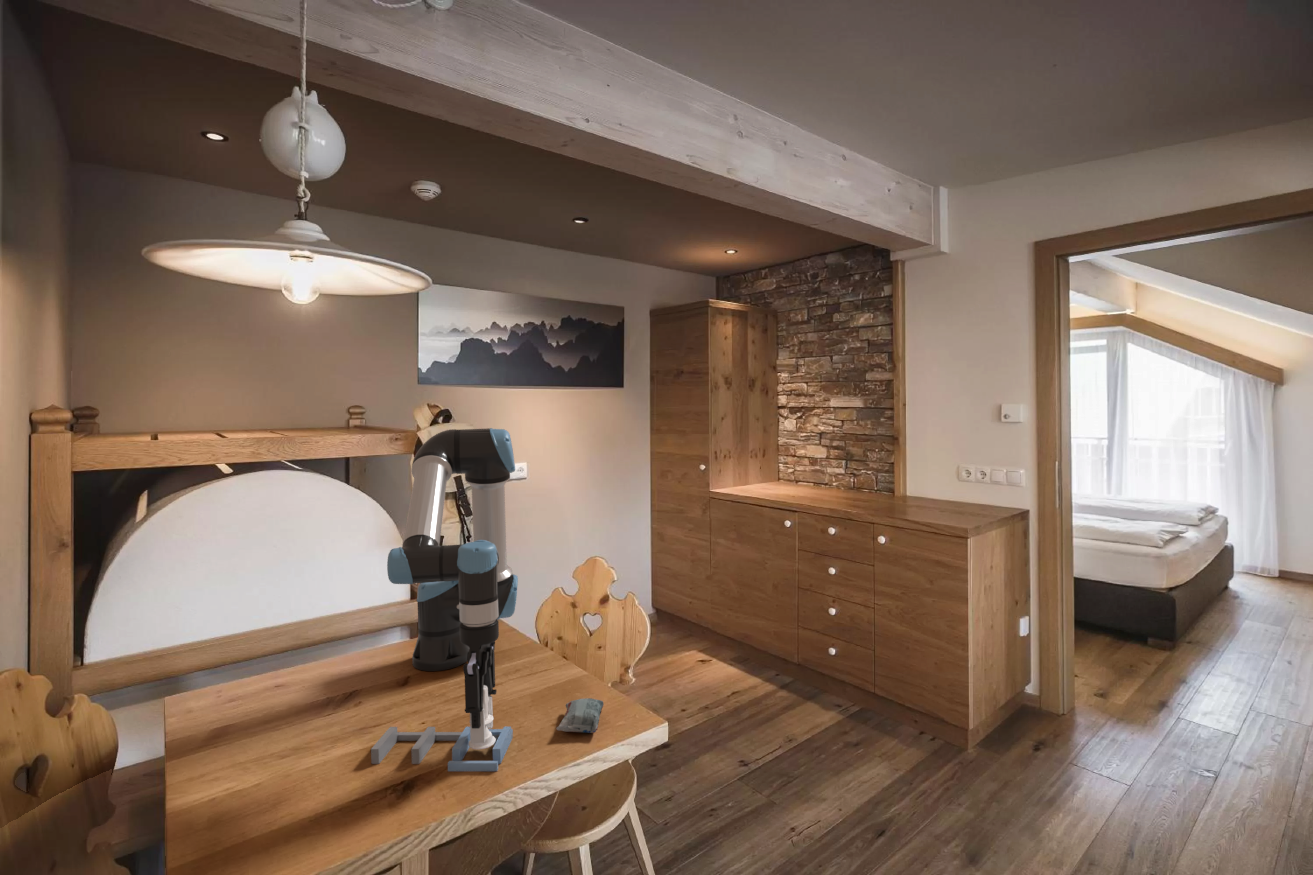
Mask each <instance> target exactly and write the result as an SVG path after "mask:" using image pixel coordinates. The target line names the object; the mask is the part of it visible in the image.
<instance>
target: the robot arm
mask: <svg viewBox="0 0 1313 875" xmlns="http://www.w3.org/2000/svg"><path fill="white" fill-rule="evenodd" d="M514 472H516V464H515V456H514V448H513V443H512V438H511V434H510V432H509V431H508V430H506V429H504V428H503V429H502V428H492V427H489V428H488V427H487V428H469V429H468V428H467V429H455V428H454V429H446V430H442V431H440V432H437V433H436V434H434V435H433V436H431V437H430V438H429V439H427V440H426V441H425V442H424V443H423V444H422V445H421V447H419V449H418V450H417V452H416V454H415V456H414V458H413V460H412V464H411V472H410V473H411V475H412V477H413V483H412V489H411V495H410V500H409V506H408V512H407V518H406V522H405V523H406V524H405V527H404V534H403V539H402V544H401V546H399V547H395V548H391V550H389V552H388V555H387V565H386V567H387V576H388V580H389V582H390V583H391V584H393V585H413V584H418V586H417V595H416V596H417V598H416V602H417V622H418V623H417V627H418V628H417V629H418V636H417V639H416V643H415V646H414V649H413V652H412V656H411V657H412V658H411V659H412V666H413V667H414V668H415V669H417V670H419V671H426V672H436V671H437V672H439V671H446V670H451V669H454V668H457V667H459V666H462V665H463V666H462V670H463V673H464V674H463V675H464V702H465V709H464V712H465V714H469V721H470V722H469V727H470V740H471V743H484V742H485V709H483V687H484V685H485V686H487V687H488V698H489V701H488V714H490V715H492V716H493V717H494V715H493V714H494V712H493V695H497V689H494V688H495V687H496V665H495V663H496V662H495V658H496V657H495V647H496V641H497V640H498V639H499V636H500V632H499V630H500V629H499V625H500V624H499V620H500V619H507V618H510V617H512V616H513V615H514V613H515V610H516V605H517V598H518V597H517V595H518V585H519V584H518V583H519V580H518V579H519V577H518V575H517V574H514V573H513V569H512V568H511V567H510V566H509V565H508V564H507V561H508V560H507V532H506V531H507V530H506V528H507V527H506V496H505V495H506V494H505V493H506V492H505V488H506V487H505V485H506V483H507V482H508V481H509V480H510V479H511V474H512V473H514ZM455 474H456V475H461V474H462V475H463V474H464V481H465V482H466V483H467V484H468V485H469V486H471V510H472V511H471V512H472V533H473V536H472V537H473V541H472V542H471V541H470V542H465V543H463V544H448V545H440V542H441V534H442V525H443V518H444V517H443V516H444V508H445V507H444V506H445V498H446V491H447V489H446V488H447V482H449V481H450V479H451V477H452V475H455ZM467 662H468V663H467ZM486 726H487V728H488V729H493V727H494V720H493V721H492V722H491V723H489V724H487V725H486Z"/></svg>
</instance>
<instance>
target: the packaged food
mask: <svg viewBox="0 0 1313 875" xmlns="http://www.w3.org/2000/svg"><path fill="white" fill-rule="evenodd" d="M603 707H604V701H603V700H601V699H596V698H592V697H591V698H587V697H586V698H578V699H575V700H574V699H573V700H570V701H569V702H566V703H565V708H566V712H565V713H564V717H563V718H562V720H561V722H559V725H558V726H556V730H557V731H562V732H568V733H587V734H588V733H589V734H594V733H596V732H597V731H598V728H599V722H600V717H601V714H602V711H603V710H602V709H603Z"/></svg>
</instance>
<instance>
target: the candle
mask: <svg viewBox="0 0 1313 875" xmlns="http://www.w3.org/2000/svg"><path fill="white" fill-rule="evenodd" d="M488 701H489V698H488V687H487V686H485V685H484V687H483V709H485V742H484V743H471V740H470V741H469V743H468V745H469V749H472V750H484V749H485V750H486V749H488V748H490V747H492V746H494V745H495V743H496V738H495V737H494V736H492V733H491V732H490V731H489V730H488V728H487V726H486V725H487V724H489V723H491V722H492V721H493V722H494V715H493V716H492V715H490V714H488ZM468 722H469V723H470V720H469V721H468Z"/></svg>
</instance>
